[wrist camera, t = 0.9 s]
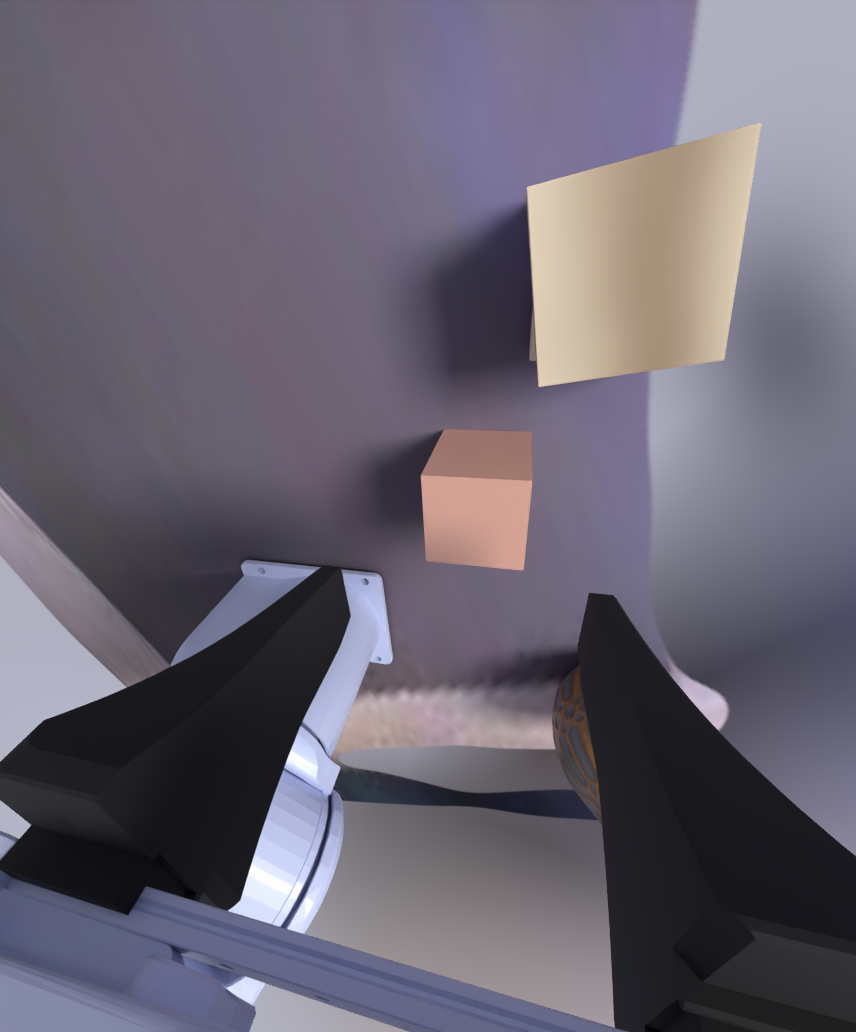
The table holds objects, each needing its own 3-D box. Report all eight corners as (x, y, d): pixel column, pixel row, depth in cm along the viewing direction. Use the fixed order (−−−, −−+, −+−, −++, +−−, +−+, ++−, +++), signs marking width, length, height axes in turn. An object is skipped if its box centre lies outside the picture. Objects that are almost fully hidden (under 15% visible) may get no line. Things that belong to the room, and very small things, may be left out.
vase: (599, 724, 28) (624, 887, 21) (527, 670, 26) (526, 824, 19) (694, 686, 24) (765, 869, 17) (616, 622, 23) (657, 790, 16)
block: (445, 502, 21) (426, 561, 17) (444, 429, 19) (420, 475, 15) (524, 507, 20) (523, 570, 16) (531, 431, 18) (532, 480, 14)
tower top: (536, 369, 15) (538, 387, 13) (526, 200, 12) (526, 187, 10) (692, 345, 13) (724, 359, 11) (716, 149, 11) (761, 122, 9)
